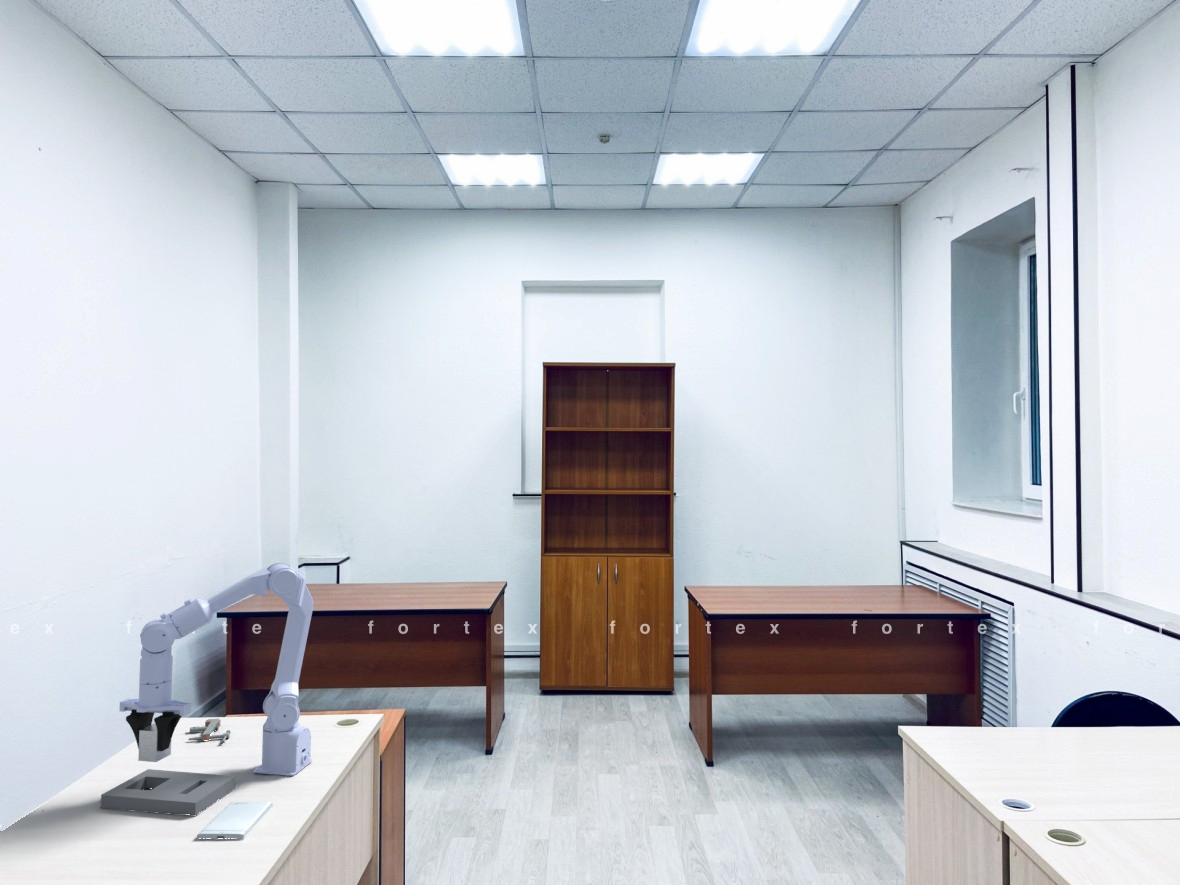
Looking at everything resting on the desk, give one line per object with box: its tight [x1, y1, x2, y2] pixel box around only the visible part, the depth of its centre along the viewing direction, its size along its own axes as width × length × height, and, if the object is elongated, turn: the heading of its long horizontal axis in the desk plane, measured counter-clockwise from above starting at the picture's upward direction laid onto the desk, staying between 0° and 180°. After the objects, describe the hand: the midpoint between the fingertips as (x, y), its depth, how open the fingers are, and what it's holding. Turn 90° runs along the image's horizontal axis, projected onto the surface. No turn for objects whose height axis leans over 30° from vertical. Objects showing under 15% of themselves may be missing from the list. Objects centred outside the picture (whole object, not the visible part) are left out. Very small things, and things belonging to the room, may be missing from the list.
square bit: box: [137, 723, 172, 763], centre depth 146 cm, size 4×4×6 cm
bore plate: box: [100, 768, 237, 816], centre depth 143 cm, size 20×12×2 cm, turn 82°
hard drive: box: [196, 801, 274, 840], centre depth 134 cm, size 2×8×12 cm
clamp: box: [188, 718, 231, 745], centre depth 176 cm, size 15×2×10 cm
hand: (153, 748), depth 146 cm, fingers closed on square bit, 4 cm apart
